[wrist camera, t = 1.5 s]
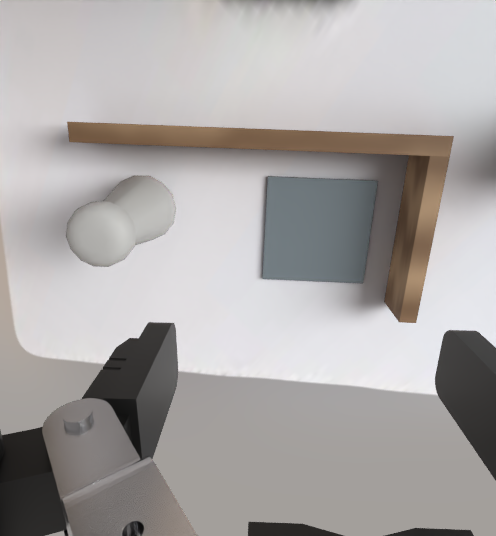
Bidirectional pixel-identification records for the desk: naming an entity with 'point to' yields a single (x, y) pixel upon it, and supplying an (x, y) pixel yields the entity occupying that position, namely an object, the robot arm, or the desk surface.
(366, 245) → the pad
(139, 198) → the salt shaker
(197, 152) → the desk surface
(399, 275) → the wooden l-shaped bracket
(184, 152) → the desk surface
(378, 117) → the desk surface
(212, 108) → the desk surface
